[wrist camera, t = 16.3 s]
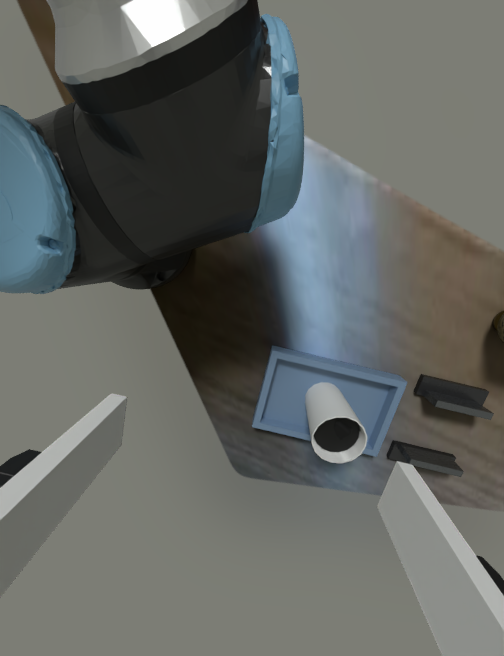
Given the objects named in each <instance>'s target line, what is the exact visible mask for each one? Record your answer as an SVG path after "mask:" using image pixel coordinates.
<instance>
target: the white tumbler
mask: <svg viewBox="0 0 504 656" xmlns="http://www.w3.org/2000/svg"><path fill="white" fill-rule="evenodd" d="M305 405H306V411H307V418H308V424H309V430H310V436H311V442H312V446H313V448H314V451H315V453H317V454H318V455H319V456H320V457H321V458H322V459H324V460H326V461H328V462H331V463H345V462H349V461H352V460H354V459H355V458H357V457H358V456H359V455H361V453H362V452H363V450H364V449H365V447H366V443H367V434H366V431H365V429H364V427H363V425H362V424H361V422H360V421H359V419H358V418H357V416H356V414H355V413H354V411H353V410H352V408H351V407H350V405H349V404H348V402H347V401H346V399H345V398H344V396H343V394H342V393H341V391H340V390H339V389H338V388H337V387H336V386H335V385H333V384H331V383H326V382H321V383H318V384H314V385H313V386H312V387H311V388H309V389H308V391H307V393H306V395H305Z"/></svg>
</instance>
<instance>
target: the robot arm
mask: <svg viewBox="0 0 504 656" xmlns="http://www.w3.org/2000/svg"><path fill="white" fill-rule="evenodd" d="M46 1H47V2H48V4H49V6H50V7H51V10H52V13H53V17H54V21H55V25H56V27H55V70H56V73H57V75H58V76H59V78H60V80H61V81H62V82H63V84H64V85H65V87H66V88H67V90H68V91H69V93H70V94H71V96H72V97H73V99H74V100H75V102H73V103H71V104H68V105H66V106H64V107H62V108H59V109H57V110H54V111H52V112H49V113H47V114H45V115H42V116H40V117H38V118H35V119H30V120H25V119H24V118H22V117H21V116H20V115H19V114H18V113H17V112H15V111H14V110H12V109H10V108H8V107H7V106H4V105H0V291H1V292H6V293H30V292H31V293H34V294H39V293H40V294H45V293H49V292H52V291H54V290H56V289H61V288H68V287H75V286H81V285H88V284H95V283H102V282H110V281H111V282H113V283H115V284H118V285H120V286H123V287H126V288H132V289H150V288H154V287H158V286H161V285H164V284H166V283H168V282H170V281H171V280H173V279H174V278H175V277H177V276H178V275H179V274H180V273H181V271H182V270H183V269H184V267H185V266H186V264H187V262H188V260H189V258H190V255H191V252H192V249H194V248H197V247H200V246H203V245H206V244H209V243H213V242H216V241H219V240H222V239H225V238H228V237H231V236H234V235H237V234H240V233H243V232H244V233H250V232H252V231H253V230H255V229H256V228H257V227H259V226H261V225H264V224H267V223H269V222H272V221H274V220H277V219H280V218H282V217H283V216H285V215H286V214H287V213H288V212H289V211H290V209H291V208H293V206H294V205H295V203H296V201H297V198H298V195H299V192H300V188H301V182H302V175H303V162H304V121H303V106H302V99H301V97H300V96H299V93H298V87H299V86H298V66H297V59H296V54H295V50H294V46H293V42H292V38H291V36H290V33H289V30H288V28H287V26H286V25H285V23H284V22H283V21H282V20H281V19H280V18H279V17H271V16H270V15H269V14H264V15H262V16H261V18H260V14H259V8H258V2H257V0H46ZM126 402H127V397H126V396H122V395H118V394H113V393H111V394H110V395H109V396H107V397H106V398H105V399H104V400H103V401H102V402H101V403H99V404H98V405H97V406H96V407H95V408H93V409H92V410H91V411H90V412H89V413H87V414H86V415H85V416H84V417H83V418H82V419H81V420H79V421H78V422H77V423H76V424H75V425H73V426H72V427H71V428H70V429H69V430H68V431H66V432H65V433H64V434H63V435H62V436H61V437H59V438H58V439H57V440H56V441H55V442H53V443H52V444H51V445H50V446H49V447H48V448H46V449H45V450H44V451H43V452H38V451H34V450H30V449H29V450H27V451H25V452H23V453H21V454H19V455H17V456H14V457H12V458H10V459H9V460H8V461H6V462H5V463H4V464H3V465H1V466H0V598H1V596H2V595H3V594H4V593H5V591H6V590H7V589H8V587H9V586H10V585H11V584H12V582H13V581H14V580H15V579H16V577H17V576H18V575H19V574H20V572H21V571H22V570H23V568H24V567H25V566H26V565H27V563H28V562H29V561H30V560H31V558H32V557H33V556H34V555H35V553H36V552H37V551H38V550H39V548H40V547H41V546H42V545H43V543H44V542H45V541H46V540H47V538H48V537H49V536H50V534H51V533H52V532H53V531H54V529H55V528H56V527H57V525H58V524H59V523H60V522H61V521H62V519H63V518H64V517H65V516H66V514H67V513H68V512H69V510H70V509H71V508H72V507H73V505H74V504H75V503H76V502H77V500H78V499H79V498H80V497H81V495H82V494H83V493H84V491H85V490H86V489H87V488H88V487H89V485H90V484H91V483H92V481H93V480H94V479H95V478H96V476H97V475H98V474H99V473H100V471H101V470H102V469H103V468H104V466H105V465H106V464H107V462H108V461H109V460H110V459H111V457H112V456H113V455H114V454H115V452H116V451H117V450H118V449H119V447H120V446H121V444H122V435H123V427H124V419H125V411H126ZM377 507H378V510H379V512H380V514H381V517H382V519H383V521H384V523H385V525H386V528H387V530H388V532H389V535H390V537H391V539H392V542H393V544H394V546H395V549H396V551H397V553H398V555H399V558H400V560H401V562H402V565H403V567H404V569H405V572H406V574H407V576H408V578H409V581H410V583H411V585H412V587H413V590H414V592H415V595H416V597H417V599H418V601H419V604H420V606H421V608H422V611H423V613H424V615H425V618H426V620H427V622H428V624H429V627H430V629H431V631H432V634H433V636H434V638H435V640H436V642H437V645H438V647H439V650H440V652H441V654H442V656H504V580H503V579H502V578H501V576H500V575H499V574H498V573H497V572H496V571H495V570H494V569H493V568H492V567H491V566H490V565H489V564H488V562H487V561H485V560H484V558H482V557H480V556H476V555H475V554H474V552H473V551H472V550H471V548H470V547H469V545H468V544H467V543H466V541H465V539H464V538H463V537H462V535H461V534H460V532H459V531H458V529H457V528H456V527H455V525H454V524H453V522H452V521H451V519H450V518H449V517H448V515H447V514H446V512H445V511H444V509H443V508H442V506H441V505H440V504H439V502H438V501H437V499H436V498H435V496H434V495H433V493H432V492H431V491H430V489H429V488H428V486H427V485H426V483H425V482H424V481H423V479H422V478H421V476H420V475H419V473H418V472H417V470H416V469H415V468H414V466H413V465H411V464H407V463H403V462H398V461H397V462H396V464H395V467H394V469H393V471H392V473H391V476H390V478H389V480H388V482H387V485H386V487H385V489H384V492H383V494H382V496H381V498H380V501H379V503H378V506H377Z"/></svg>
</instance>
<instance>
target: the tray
mask: <svg viewBox="0 0 504 656" xmlns="http://www.w3.org/2000/svg"><path fill="white" fill-rule="evenodd" d="M321 382H326V383H331V384H333V385H335V386H336V387H337V388H338V389H339V390H340V391H341V393H342V394H343V396H344V398H345V399H346V401H347V402H348V404H349V405H350V407H351V408H352V410H353V411H354V413H355V414H356V416H357V418H358V419H359V421H360V422H361V424H362V425H363V427H364V429H365V431H366V434H367V443H366V447H365V449H364V450H363V452H362V453H363V454H367V455H371V456H376V457H377V455H378V452H379V450H380V448H381V445H382V443H383V440H384V438H385V436H386V433H387V431H388V428H389V426H390V423H391V421H392V419H393V416H394V414H395V411H396V409H397V407H398V404H399V402H400V399H401V397H402V395H403V392H404V390H405V387H406V385H407V382H406V381H405V380H404V379H403V378H402V377H401V376H399V375H395V374H391V373H387V372H383V371H379V370H374V369H370V368H366V367H362V366H358V365H353V364H349V363H345V362H341V361H337V360H332V359H328V358H324V357H320V356H316V355H311V354H307V353H303V352H299V351H295V350H290V349H286V348H282V347H278V346H274V345H272V347H271V351H270V355H269V359H268V363H267V366H266V370H265V374H264V378H263V382H262V385H261V389H260V393H259V397H258V401H257V405H256V408H255V412H254V416H253V423H252V427H254V428H258V429H263V430H267V431H271V432H275V433H279V434H284V435H288V436H292V437H296V438H300V439H304V440H309V441H311V436H310V430H309V424H308V418H307V411H306V405H305V395H306V393H307V391H308V389H309V388H311V387H312V386H313V385H314V384H318V383H321Z"/></svg>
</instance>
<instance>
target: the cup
mask: <svg viewBox="0 0 504 656" xmlns="http://www.w3.org/2000/svg"><path fill="white" fill-rule="evenodd" d="M493 326H494V328H495V330H496V331H497V332H498V335H499V337H500V339H501V340H502V341H503V342H504V311H501V312H500V313H498V314H497V315H496V316H495V318H494V321H493Z"/></svg>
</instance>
